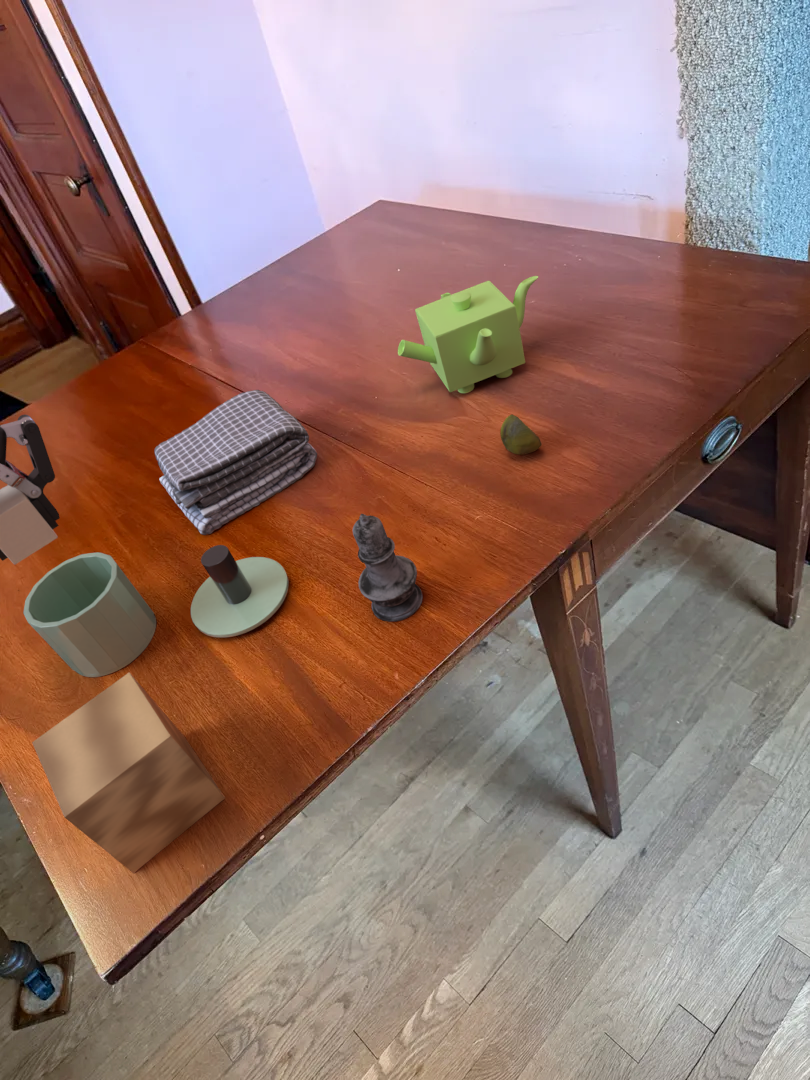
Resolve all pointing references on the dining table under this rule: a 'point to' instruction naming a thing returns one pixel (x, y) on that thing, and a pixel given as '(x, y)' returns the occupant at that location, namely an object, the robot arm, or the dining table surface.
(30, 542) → the block
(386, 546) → the chess piece
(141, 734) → the stand
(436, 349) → the kettle
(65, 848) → the dining table surface
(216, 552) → the lid
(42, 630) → the pot
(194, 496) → the towel
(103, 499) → the dining table surface
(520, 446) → the olive green rock
